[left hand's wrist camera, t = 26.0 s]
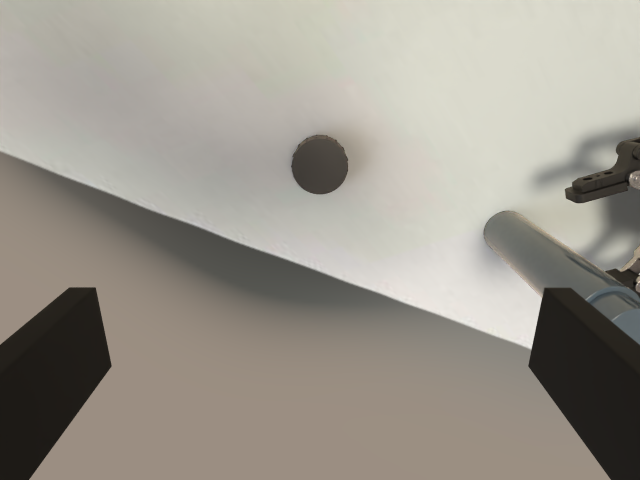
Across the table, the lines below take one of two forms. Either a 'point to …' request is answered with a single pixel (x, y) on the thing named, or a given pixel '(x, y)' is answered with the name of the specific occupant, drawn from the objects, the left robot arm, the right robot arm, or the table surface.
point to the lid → (319, 164)
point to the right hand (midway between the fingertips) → (575, 244)
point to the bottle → (561, 269)
